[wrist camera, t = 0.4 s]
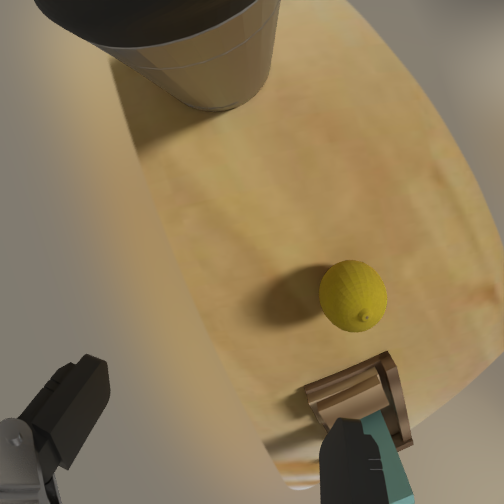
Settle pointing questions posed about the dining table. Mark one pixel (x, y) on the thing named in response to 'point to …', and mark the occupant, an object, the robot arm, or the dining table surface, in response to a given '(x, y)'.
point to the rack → (391, 385)
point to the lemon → (353, 296)
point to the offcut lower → (337, 389)
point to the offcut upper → (354, 401)
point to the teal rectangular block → (389, 460)
